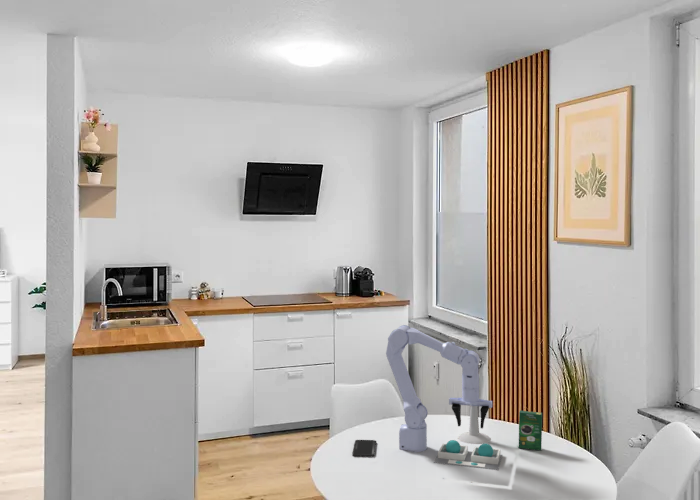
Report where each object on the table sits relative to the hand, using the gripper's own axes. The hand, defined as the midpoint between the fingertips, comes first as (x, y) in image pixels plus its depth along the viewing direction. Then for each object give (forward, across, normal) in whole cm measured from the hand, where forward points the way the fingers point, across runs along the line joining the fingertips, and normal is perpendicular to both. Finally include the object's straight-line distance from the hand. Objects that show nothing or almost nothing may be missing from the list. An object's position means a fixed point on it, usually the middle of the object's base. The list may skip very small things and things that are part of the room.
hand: (470, 426), depth 214 cm
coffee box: (+11, +19, +14) cm, 26 cm away
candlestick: (+11, -1, +16) cm, 19 cm away
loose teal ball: (+9, +5, -3) cm, 11 cm away
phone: (+11, -37, -4) cm, 39 cm away
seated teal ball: (+9, -6, -3) cm, 11 cm away
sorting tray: (+10, 0, -5) cm, 12 cm away
